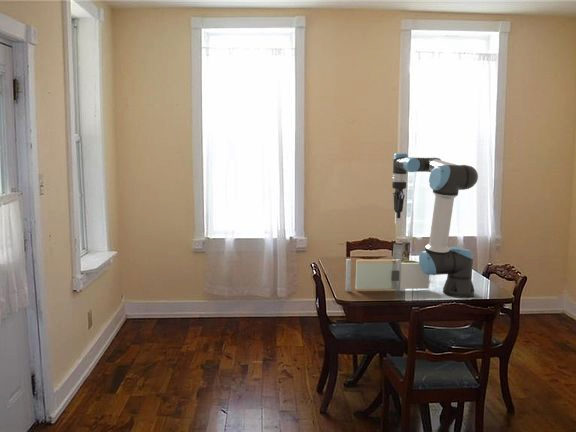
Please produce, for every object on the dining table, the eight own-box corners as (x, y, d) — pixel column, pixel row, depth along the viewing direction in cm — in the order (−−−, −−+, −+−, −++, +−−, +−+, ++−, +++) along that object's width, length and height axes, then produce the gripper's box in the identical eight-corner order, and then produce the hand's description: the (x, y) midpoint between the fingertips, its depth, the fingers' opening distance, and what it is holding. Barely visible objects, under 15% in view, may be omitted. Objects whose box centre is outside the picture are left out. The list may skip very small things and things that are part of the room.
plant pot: (418, 280, 314) (419, 264, 313) (401, 278, 316) (402, 263, 315) (418, 276, 323) (419, 261, 322) (401, 275, 325) (402, 260, 324)
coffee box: (399, 267, 345) (400, 241, 343) (409, 269, 341) (410, 242, 338) (391, 269, 338) (393, 242, 336) (401, 271, 334) (402, 244, 332)
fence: (429, 291, 291) (431, 260, 289) (346, 292, 285) (347, 260, 283) (427, 289, 294) (428, 258, 292) (344, 290, 289) (345, 259, 287)
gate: (355, 289, 287) (357, 260, 285) (355, 288, 289) (356, 259, 287) (394, 288, 290) (396, 260, 288) (394, 288, 291) (395, 259, 289)
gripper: (389, 180, 322) (387, 222, 326) (396, 182, 310) (394, 225, 313) (402, 180, 323) (400, 222, 326) (409, 182, 311) (407, 225, 314)
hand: (397, 223), depth 320 cm, fingers closed
